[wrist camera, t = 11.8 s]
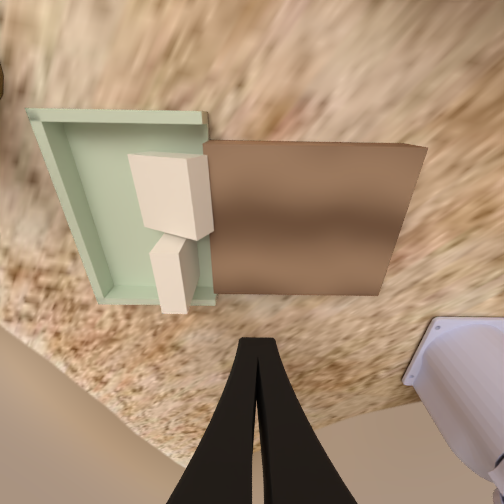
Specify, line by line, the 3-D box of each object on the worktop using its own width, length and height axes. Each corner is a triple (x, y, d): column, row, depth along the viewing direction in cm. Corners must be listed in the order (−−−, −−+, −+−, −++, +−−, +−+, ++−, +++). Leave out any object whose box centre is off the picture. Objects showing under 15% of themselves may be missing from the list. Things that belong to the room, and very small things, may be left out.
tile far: (187, 314, 16) (162, 313, 16) (200, 274, 19) (180, 274, 19) (178, 253, 13) (148, 253, 13) (194, 222, 17) (172, 222, 17)
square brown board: (364, 276, 20) (378, 295, 18) (217, 275, 20) (213, 293, 18) (403, 143, 15) (428, 147, 13) (209, 139, 15) (202, 143, 13)
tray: (218, 289, 21) (215, 305, 19) (111, 288, 21) (98, 304, 19) (207, 111, 14) (201, 111, 13) (52, 108, 14) (24, 107, 12)
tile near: (214, 230, 15) (196, 240, 14) (163, 219, 17) (144, 226, 16) (207, 155, 13) (186, 158, 12) (150, 151, 15) (127, 154, 14)
